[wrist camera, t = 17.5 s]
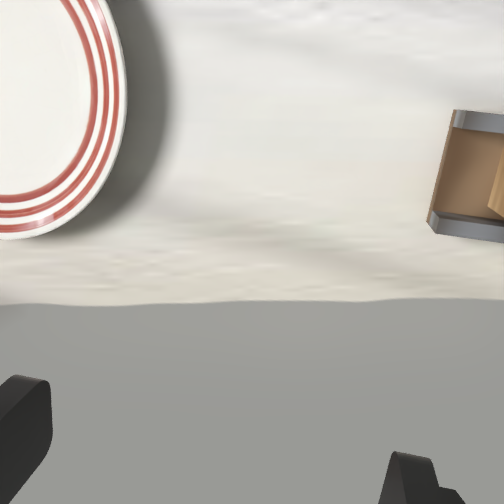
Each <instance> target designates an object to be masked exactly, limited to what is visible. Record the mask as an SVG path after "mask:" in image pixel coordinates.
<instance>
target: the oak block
mask: <svg viewBox="0 0 504 504" xmlns="http://www.w3.org/2000/svg"><path fill="white" fill-rule="evenodd" d="M488 207H489V208H491V209H492V210H494V211H495V212H496V213H498V214H499V215H501V216H502V217H504V148H503V151H502V155H501V159H500V162H499V166H498V169H497V173H496V177H495V180H494V184H493V188H492V191H491V195H490V199H489V202H488Z"/></svg>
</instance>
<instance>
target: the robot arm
mask: <svg viewBox="0 0 504 504" xmlns="http://www.w3.org/2000/svg"><path fill="white" fill-rule="evenodd" d="M52 434H53V428H52V408H51V389H50V385H49V383H48V382H47V381H45V380H41V379H36V378H31V377H26V376H21V375H13V376H12V377H10V378H9V379H7V380H6V382H4V383H3V384H2V385H1V386H0V504H9V503H10V501H11V500H12V499H13V498H14V496H15V495H16V494H17V492H18V491H19V490H20V489H21V487H22V486H23V485H24V484H25V482H26V481H27V480H28V479H29V477H30V476H31V475H32V474H33V472H34V471H35V470H36V468H37V467H38V466H39V465H40V463H41V462H42V461H43V459H44V458H45V456H46V454H47V452H48V450H49V447H50V444H51V441H52ZM378 504H465V502H464V501H463V500H462V498H461V497H460V496H459V494H458V493H457V492H456V490H453V489H448V488H443V487H439V485H438V481H437V478H436V474H435V470H434V467H433V463H432V462H431V460H430V459H429V458H426V457H421V456H416V455H411V454H406V453H400V452H396V451H394V452H393V453H392V455H391V458H390V462H389V465H388V469H387V473H386V477H385V480H384V484H383V488H382V492H381V495H380V499H379V503H378Z"/></svg>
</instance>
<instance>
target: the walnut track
mask: <svg viewBox="0 0 504 504" xmlns="http://www.w3.org/2000/svg"><path fill="white" fill-rule="evenodd" d="M503 148H504V115H500V114H491V113H482V112H473V111H464V110H453V114H452V118H451V122H450V126H449V131H448V135H447V139H446V143H445V147H444V151H443V155H442V159H441V163H440V167H439V172H438V176H437V180H436V184H435V188H434V192H433V196H432V200H431V204H430V208H429V213H428V217H427V221H426V222H427V223H428V224H429V226H430V227H431V228H432V230H433V231H434V232H435V233H436V234H443V235H450V236H457V237H464V238H471V239H478V240H485V241H492V242H499V243H504V217H502V216H501V215H499V214H498V213H496V212H495V211H494V210H492V209H491V208H489V207H488V202H489V199H490V195H491V191H492V188H493V184H494V180H495V177H496V173H497V169H498V166H499V162H500V159H501V155H502V151H503Z"/></svg>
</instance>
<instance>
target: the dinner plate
mask: <svg viewBox="0 0 504 504" xmlns="http://www.w3.org/2000/svg"><path fill="white" fill-rule="evenodd" d="M126 114H127V77H126V67H125V60H124V55H123V49H122V45H121V41H120V38H119V34H118V30H117V27H116V24H115V21H114V18H113V16H112V13H111V11H110V8H109V6H108V3H107V1H106V0H0V240H16V239H25V238H30V237H34V236H38V235H41V234H44V233H47V232H50V231H52V230H54V229H56V228H58V227H60V226H62V225H64V224H65V223H67V222H68V221H70V220H71V219H73V218H74V217H75V216H77V215H78V214H79V213H80V212H82V211H83V210H84V209H85V208H86V207H87V206H88V205H89V204H90V202H91V201H92V200H93V199H94V198H95V196H96V195H97V194H98V192H99V191H100V190H101V188H102V187H103V185H104V183H105V182H106V180H107V178H108V176H109V174H110V172H111V170H112V168H113V166H114V163H115V160H116V158H117V155H118V152H119V149H120V146H121V142H122V137H123V133H124V129H125V123H126Z"/></svg>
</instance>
